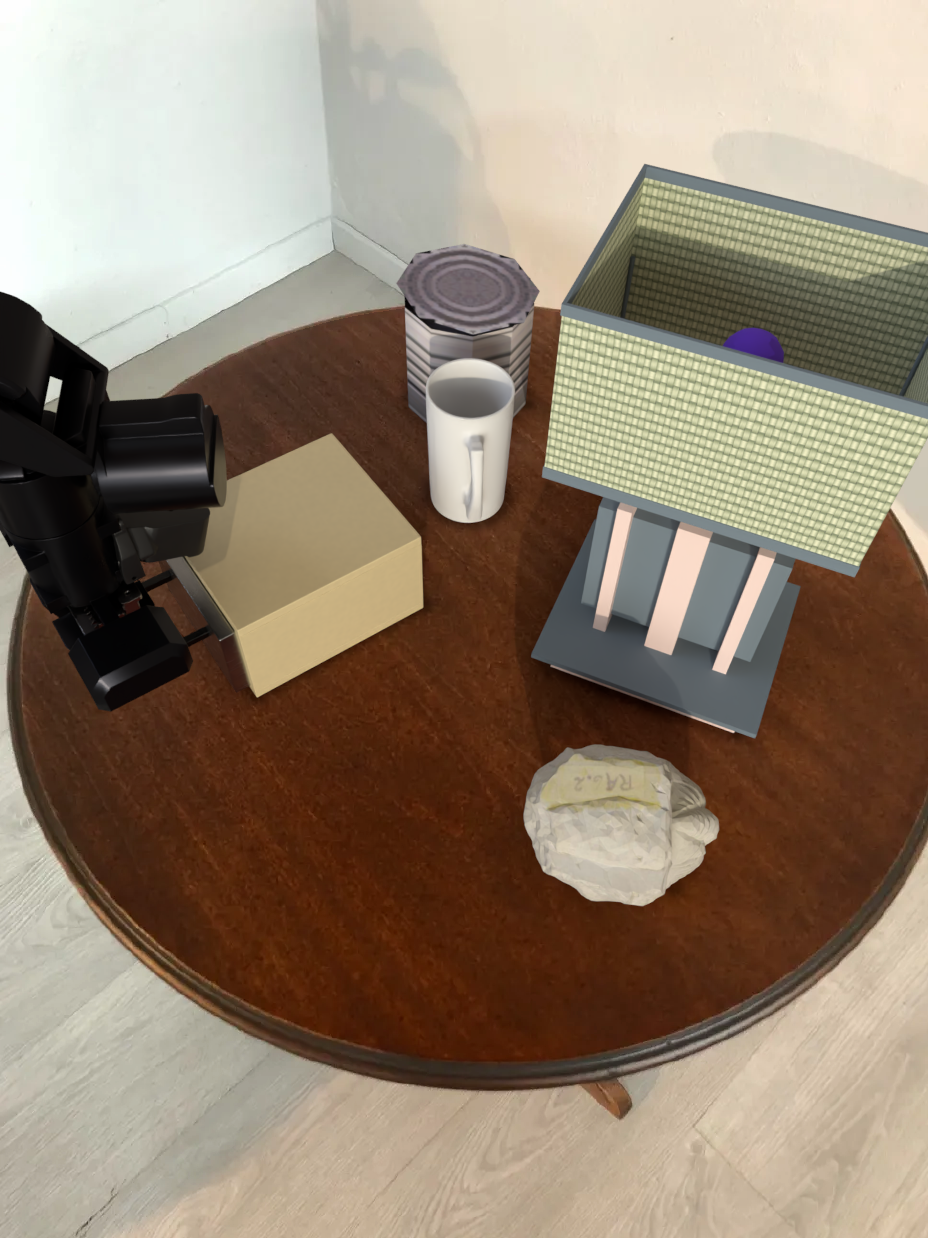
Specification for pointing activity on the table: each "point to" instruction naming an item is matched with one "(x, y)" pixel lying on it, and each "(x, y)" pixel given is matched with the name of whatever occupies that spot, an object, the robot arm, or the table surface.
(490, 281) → the can
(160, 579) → the drawer
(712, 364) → the desk lamp
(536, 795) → the fossil replica
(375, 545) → the tan cardboard box
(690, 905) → the table surface
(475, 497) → the mug
